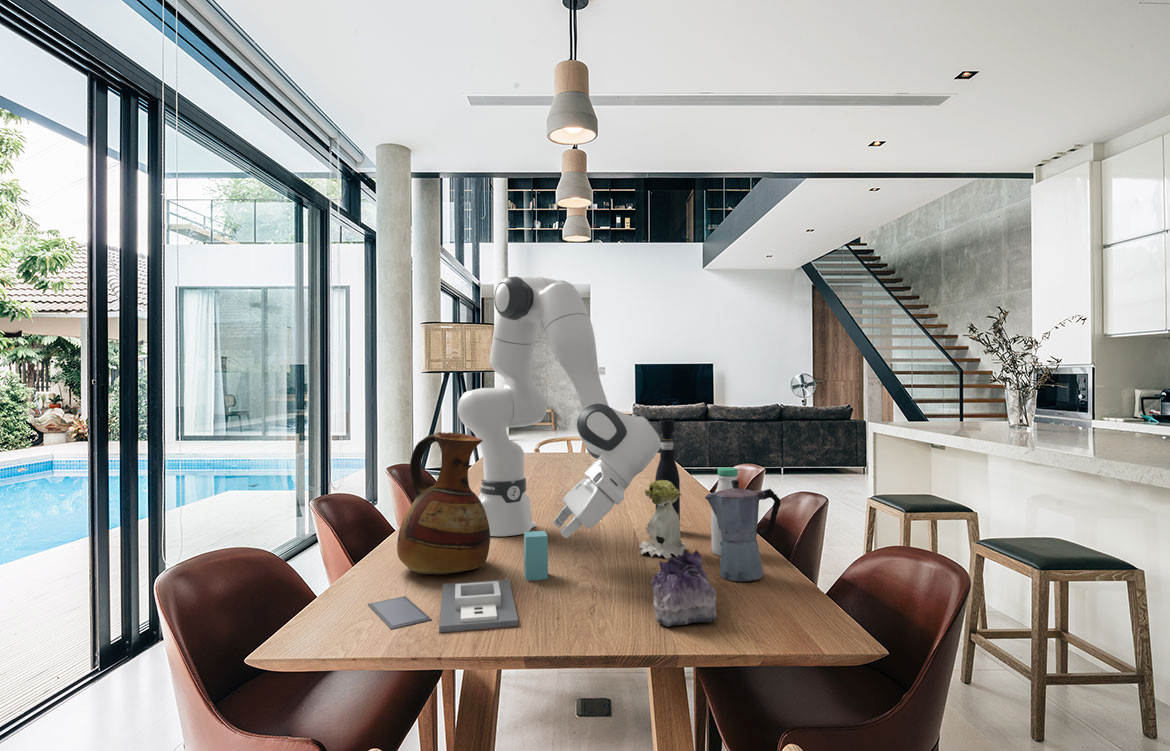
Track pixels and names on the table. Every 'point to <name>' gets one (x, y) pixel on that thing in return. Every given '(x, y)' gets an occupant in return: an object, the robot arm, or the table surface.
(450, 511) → the ceramic pitcher
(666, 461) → the wine bottle
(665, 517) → the green-topped white figurine
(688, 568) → the geode
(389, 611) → the phone
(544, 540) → the teal box with slot
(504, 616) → the grey socket base board
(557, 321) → the robot arm
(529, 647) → the table surface
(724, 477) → the milk bottle
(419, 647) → the table surface
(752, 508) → the moka pot
